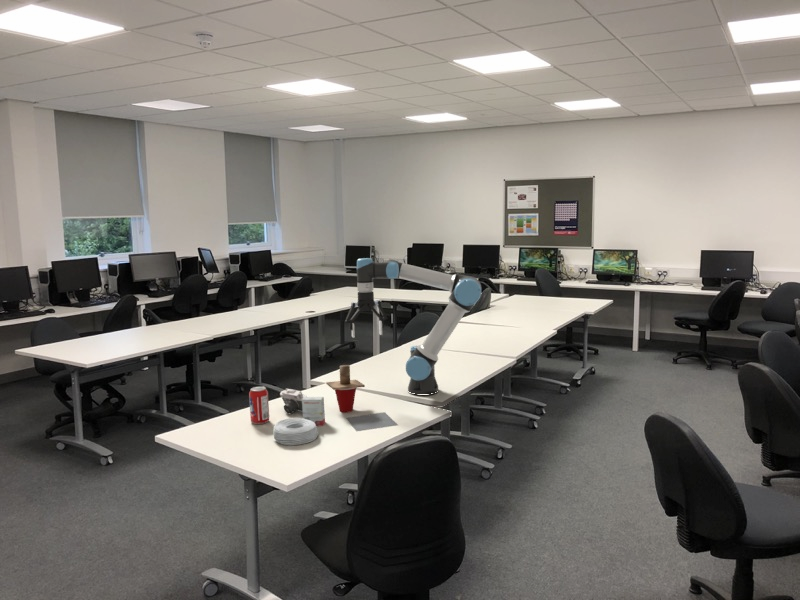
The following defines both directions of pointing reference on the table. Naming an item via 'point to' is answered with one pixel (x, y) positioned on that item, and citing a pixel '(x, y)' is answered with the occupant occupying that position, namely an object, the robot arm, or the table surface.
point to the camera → (292, 400)
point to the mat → (371, 421)
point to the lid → (345, 380)
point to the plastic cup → (345, 399)
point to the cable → (295, 431)
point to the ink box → (314, 410)
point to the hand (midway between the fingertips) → (367, 335)
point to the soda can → (259, 405)
